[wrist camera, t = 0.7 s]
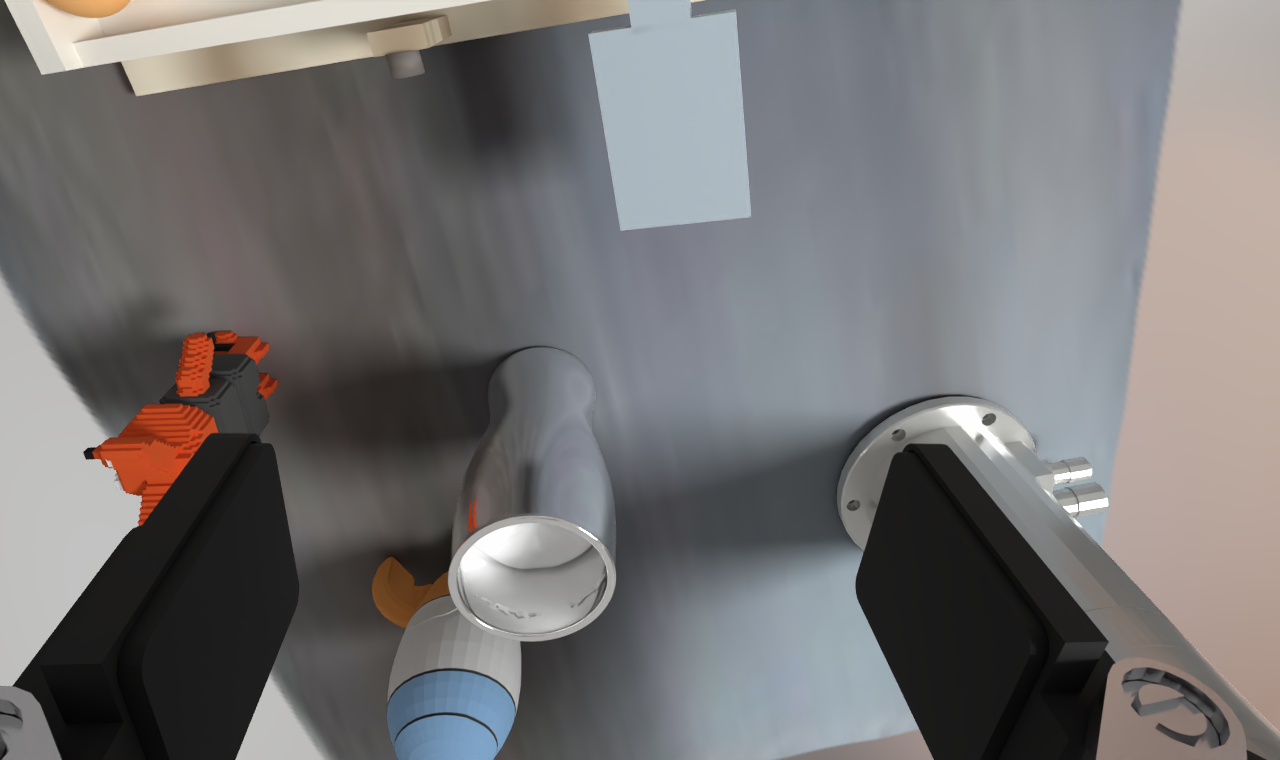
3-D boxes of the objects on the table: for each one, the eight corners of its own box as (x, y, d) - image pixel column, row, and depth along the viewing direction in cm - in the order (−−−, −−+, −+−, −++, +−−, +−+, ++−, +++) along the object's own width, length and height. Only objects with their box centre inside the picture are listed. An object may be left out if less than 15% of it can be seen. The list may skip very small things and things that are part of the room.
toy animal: (151, 296, 37) (-9, 421, 27) (263, 294, 38) (149, 416, 27) (193, 430, 41) (67, 585, 31) (295, 427, 42) (205, 579, 31)
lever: (716, -260, 23) (709, -308, 19) (750, 195, 30) (751, 238, 26) (69, -119, 28) (-62, -131, 23) (230, 251, 35) (154, 296, 30)
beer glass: (454, 382, 41) (403, 571, 28) (555, 315, 40) (551, 481, 27) (530, 464, 44) (516, 670, 31) (627, 405, 43) (655, 594, 30)
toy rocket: (545, 613, 52) (484, 846, 39) (394, 579, 51) (286, 803, 39) (567, 512, 46) (503, 749, 33) (397, 472, 45) (270, 697, 33)
